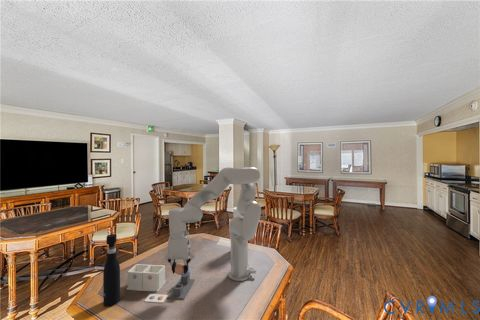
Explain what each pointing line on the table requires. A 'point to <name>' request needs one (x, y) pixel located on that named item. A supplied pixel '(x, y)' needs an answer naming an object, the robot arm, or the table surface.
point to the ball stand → (181, 288)
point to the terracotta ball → (179, 268)
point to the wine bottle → (111, 274)
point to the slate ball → (186, 273)
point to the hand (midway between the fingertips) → (180, 271)
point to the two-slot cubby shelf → (146, 277)
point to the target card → (156, 298)
